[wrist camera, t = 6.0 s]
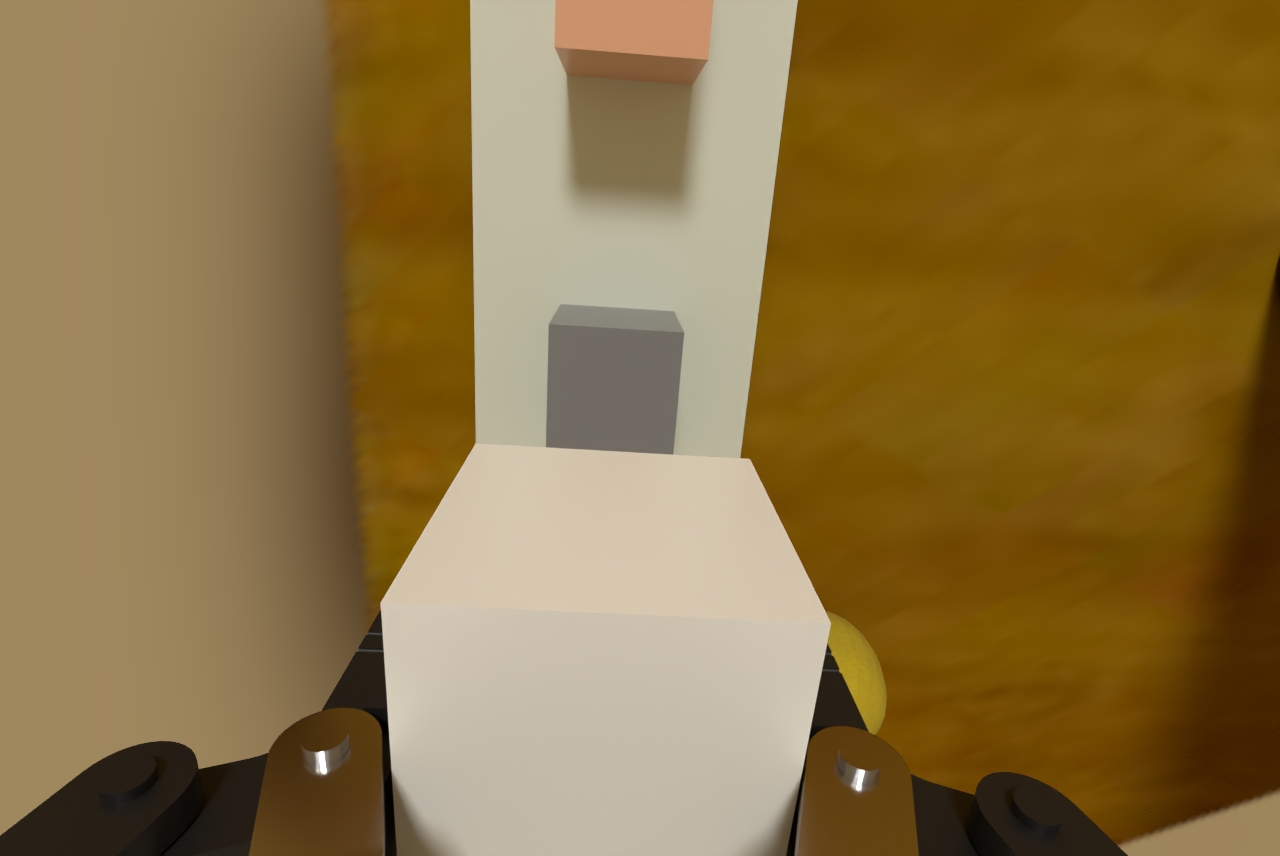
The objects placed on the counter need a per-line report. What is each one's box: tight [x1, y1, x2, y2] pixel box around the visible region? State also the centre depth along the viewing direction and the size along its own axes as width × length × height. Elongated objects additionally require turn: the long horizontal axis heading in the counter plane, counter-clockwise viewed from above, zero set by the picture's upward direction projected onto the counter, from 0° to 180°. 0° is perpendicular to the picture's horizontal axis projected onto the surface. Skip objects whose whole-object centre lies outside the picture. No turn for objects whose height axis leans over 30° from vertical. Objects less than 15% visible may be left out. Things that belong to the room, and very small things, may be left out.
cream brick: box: [381, 443, 831, 856], centre depth 10 cm, size 6×5×5 cm
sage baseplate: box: [470, 0, 798, 458], centre depth 27 cm, size 23×12×1 cm, turn 176°
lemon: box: [825, 611, 887, 735], centre depth 31 cm, size 6×6×8 cm
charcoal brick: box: [546, 304, 684, 455], centre depth 27 cm, size 6×5×5 cm
